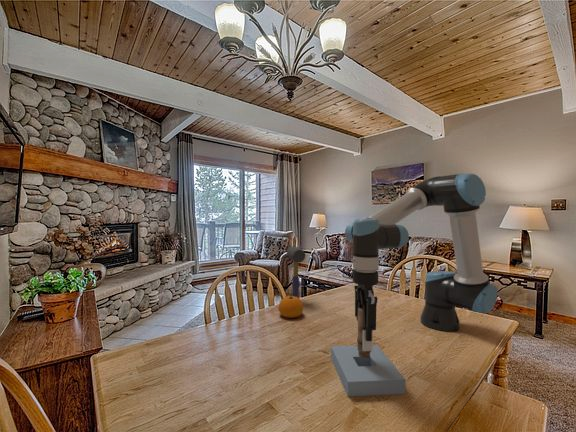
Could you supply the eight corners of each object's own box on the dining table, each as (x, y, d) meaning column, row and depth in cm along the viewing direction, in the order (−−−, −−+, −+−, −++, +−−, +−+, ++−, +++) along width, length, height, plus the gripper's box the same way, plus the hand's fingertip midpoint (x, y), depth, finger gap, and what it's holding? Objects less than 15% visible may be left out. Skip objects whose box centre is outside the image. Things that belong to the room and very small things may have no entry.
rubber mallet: (306, 306, 149) (306, 248, 148) (292, 307, 147) (292, 249, 146) (298, 299, 161) (298, 245, 160) (285, 300, 159) (285, 245, 158)
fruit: (307, 314, 138) (307, 293, 138) (295, 322, 128) (295, 299, 128) (287, 309, 144) (287, 289, 144) (273, 316, 135) (273, 295, 134)
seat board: (377, 356, 99) (377, 344, 98) (405, 393, 79) (405, 379, 79) (330, 358, 97) (331, 346, 97) (347, 396, 77) (347, 381, 77)
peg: (368, 351, 90) (369, 306, 90) (373, 358, 86) (374, 311, 86) (355, 351, 90) (355, 307, 89) (359, 358, 86) (360, 312, 85)
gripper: (345, 264, 96) (344, 334, 96) (362, 276, 78) (361, 361, 79) (367, 264, 96) (366, 333, 97) (389, 276, 79) (388, 360, 79)
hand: (364, 346), depth 88 cm, fingers closed on peg, 4 cm apart
